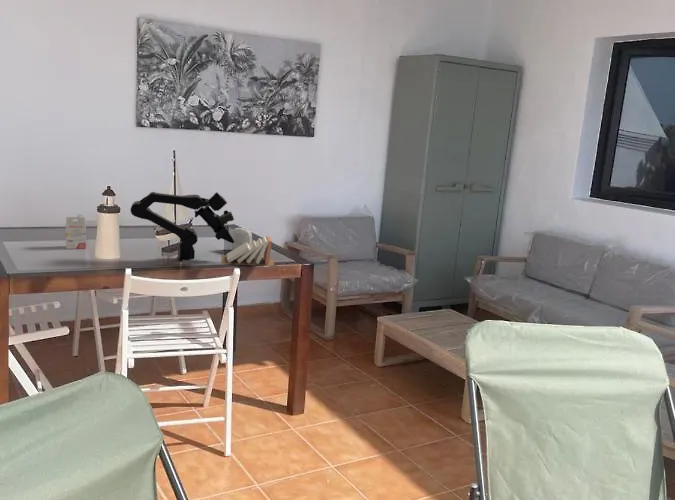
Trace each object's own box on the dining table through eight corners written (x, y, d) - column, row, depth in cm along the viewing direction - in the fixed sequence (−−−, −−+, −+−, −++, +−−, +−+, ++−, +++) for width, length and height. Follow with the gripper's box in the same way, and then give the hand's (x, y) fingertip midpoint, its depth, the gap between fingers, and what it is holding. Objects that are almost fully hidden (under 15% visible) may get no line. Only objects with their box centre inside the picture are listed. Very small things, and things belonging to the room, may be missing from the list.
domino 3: (246, 261, 314) (261, 243, 313) (245, 255, 323) (259, 237, 322) (249, 263, 314) (263, 245, 313) (247, 257, 324) (261, 239, 323)
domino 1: (227, 260, 312) (248, 247, 312) (226, 254, 321) (246, 241, 322) (229, 262, 312) (249, 250, 313) (228, 256, 322) (248, 244, 322)
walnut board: (222, 265, 310) (222, 263, 310) (221, 257, 323) (221, 255, 323) (275, 267, 315) (275, 265, 315) (272, 259, 328) (272, 257, 328)
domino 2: (237, 260, 313) (255, 245, 313) (235, 255, 322) (253, 239, 322) (239, 263, 313) (257, 247, 313) (238, 257, 323) (255, 242, 323)
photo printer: (252, 254, 333) (253, 230, 330) (246, 256, 329) (247, 231, 326) (236, 250, 338) (237, 225, 335) (230, 251, 335) (231, 226, 332)
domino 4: (255, 262, 315) (265, 241, 313) (254, 256, 324) (263, 236, 323) (258, 264, 315) (268, 242, 314) (256, 258, 325) (266, 237, 323)
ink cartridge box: (85, 246, 319) (85, 215, 315) (85, 248, 314) (86, 217, 311) (65, 246, 316) (65, 214, 312) (65, 248, 311) (65, 217, 307)
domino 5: (265, 264, 316) (268, 241, 313) (263, 258, 325) (266, 235, 323) (268, 264, 316) (272, 241, 314) (266, 258, 326) (269, 236, 323)
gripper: (224, 210, 301) (248, 235, 306) (223, 202, 319) (245, 226, 324) (205, 227, 302) (229, 252, 307) (205, 217, 319) (227, 241, 324)
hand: (233, 242), depth 315 cm, fingers closed
